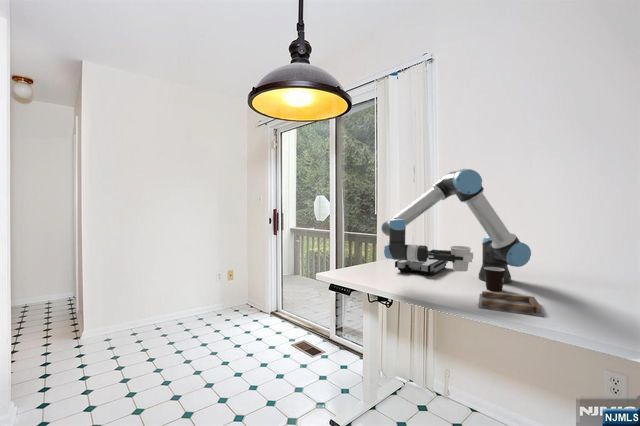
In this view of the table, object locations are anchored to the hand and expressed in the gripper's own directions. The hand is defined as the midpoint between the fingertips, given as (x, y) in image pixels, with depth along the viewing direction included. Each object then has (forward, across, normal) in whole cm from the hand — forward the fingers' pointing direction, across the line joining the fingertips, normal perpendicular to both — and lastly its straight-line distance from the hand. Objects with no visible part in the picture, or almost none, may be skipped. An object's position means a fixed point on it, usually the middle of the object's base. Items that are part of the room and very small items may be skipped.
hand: (472, 257), depth 133 cm
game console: (-29, -46, -18) cm, 58 cm away
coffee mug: (+9, -20, -18) cm, 28 cm away
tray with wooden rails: (+13, +2, -18) cm, 22 cm away
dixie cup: (-5, 0, -6) cm, 8 cm away
